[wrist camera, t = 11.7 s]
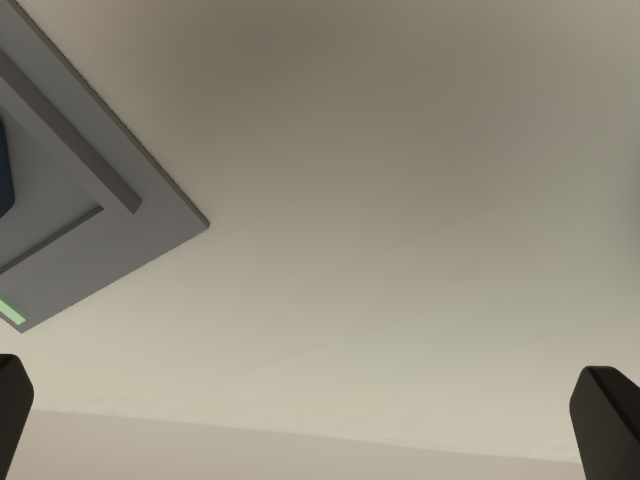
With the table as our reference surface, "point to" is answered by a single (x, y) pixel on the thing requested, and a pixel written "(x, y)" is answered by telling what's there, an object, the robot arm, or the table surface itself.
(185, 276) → the table surface
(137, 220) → the dock
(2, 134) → the vaping device
